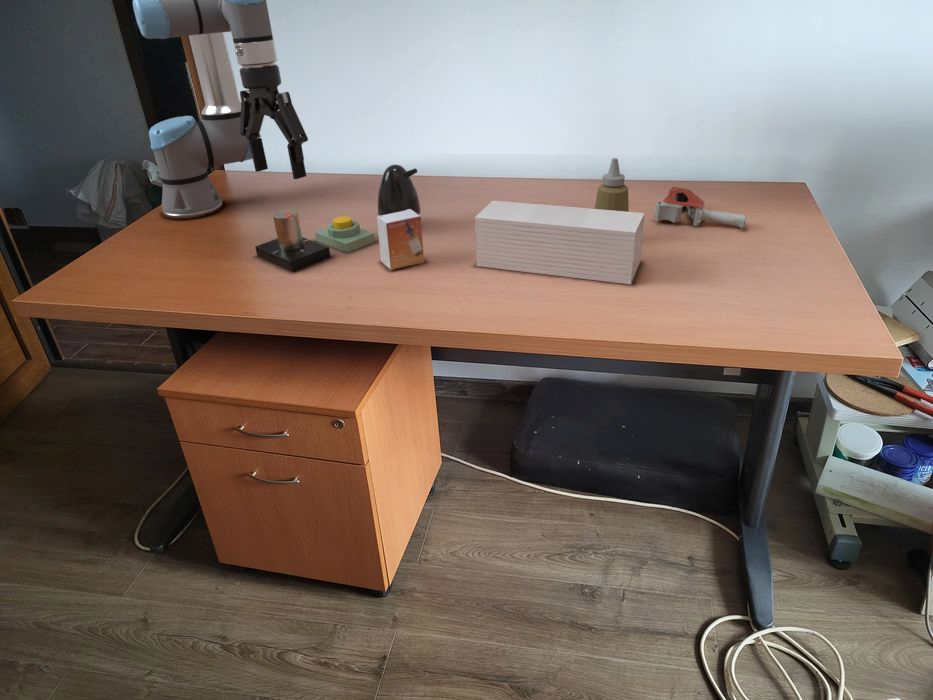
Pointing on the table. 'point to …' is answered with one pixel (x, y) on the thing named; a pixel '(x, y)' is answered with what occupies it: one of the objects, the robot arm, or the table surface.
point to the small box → (400, 239)
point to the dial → (288, 230)
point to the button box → (345, 237)
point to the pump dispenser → (397, 191)
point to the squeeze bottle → (613, 190)
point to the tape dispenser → (692, 209)
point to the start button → (342, 222)
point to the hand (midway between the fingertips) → (280, 174)
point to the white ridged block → (560, 240)
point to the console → (293, 254)
